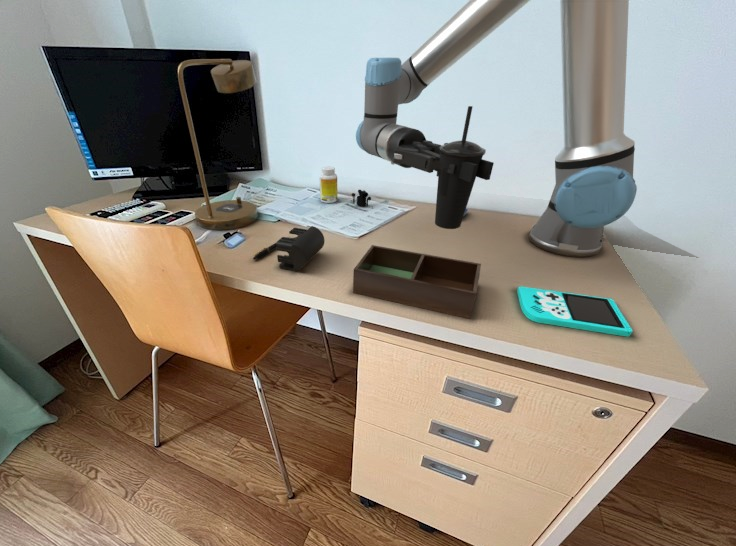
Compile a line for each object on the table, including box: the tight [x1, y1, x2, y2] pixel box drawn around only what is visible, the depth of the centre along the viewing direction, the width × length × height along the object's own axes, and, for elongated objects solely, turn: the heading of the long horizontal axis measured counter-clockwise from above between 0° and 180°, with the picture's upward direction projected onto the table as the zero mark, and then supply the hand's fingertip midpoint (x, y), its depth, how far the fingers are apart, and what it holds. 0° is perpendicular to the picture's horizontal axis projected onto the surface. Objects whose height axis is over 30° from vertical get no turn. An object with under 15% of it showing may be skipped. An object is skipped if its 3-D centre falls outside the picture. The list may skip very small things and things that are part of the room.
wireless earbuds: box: [351, 189, 372, 208], centre depth 106 cm, size 7×2×5 cm, turn 54°
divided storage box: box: [352, 244, 482, 319], centre depth 66 cm, size 11×22×5 cm, turn 67°
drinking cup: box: [434, 105, 487, 230], centre depth 61 cm, size 8×8×20 cm
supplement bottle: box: [319, 166, 338, 204], centre depth 109 cm, size 6×6×10 cm
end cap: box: [275, 225, 325, 272], centre depth 76 cm, size 10×7×7 cm
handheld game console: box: [516, 285, 633, 338], centre depth 61 cm, size 10×16×1 cm, turn 73°
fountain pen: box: [252, 236, 291, 261], centre depth 83 cm, size 14×1×2 cm, turn 150°
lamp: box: [177, 58, 258, 231], centre depth 93 cm, size 17×27×38 cm, turn 157°
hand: (482, 172), depth 56 cm, fingers closed on drinking cup, 3 cm apart
